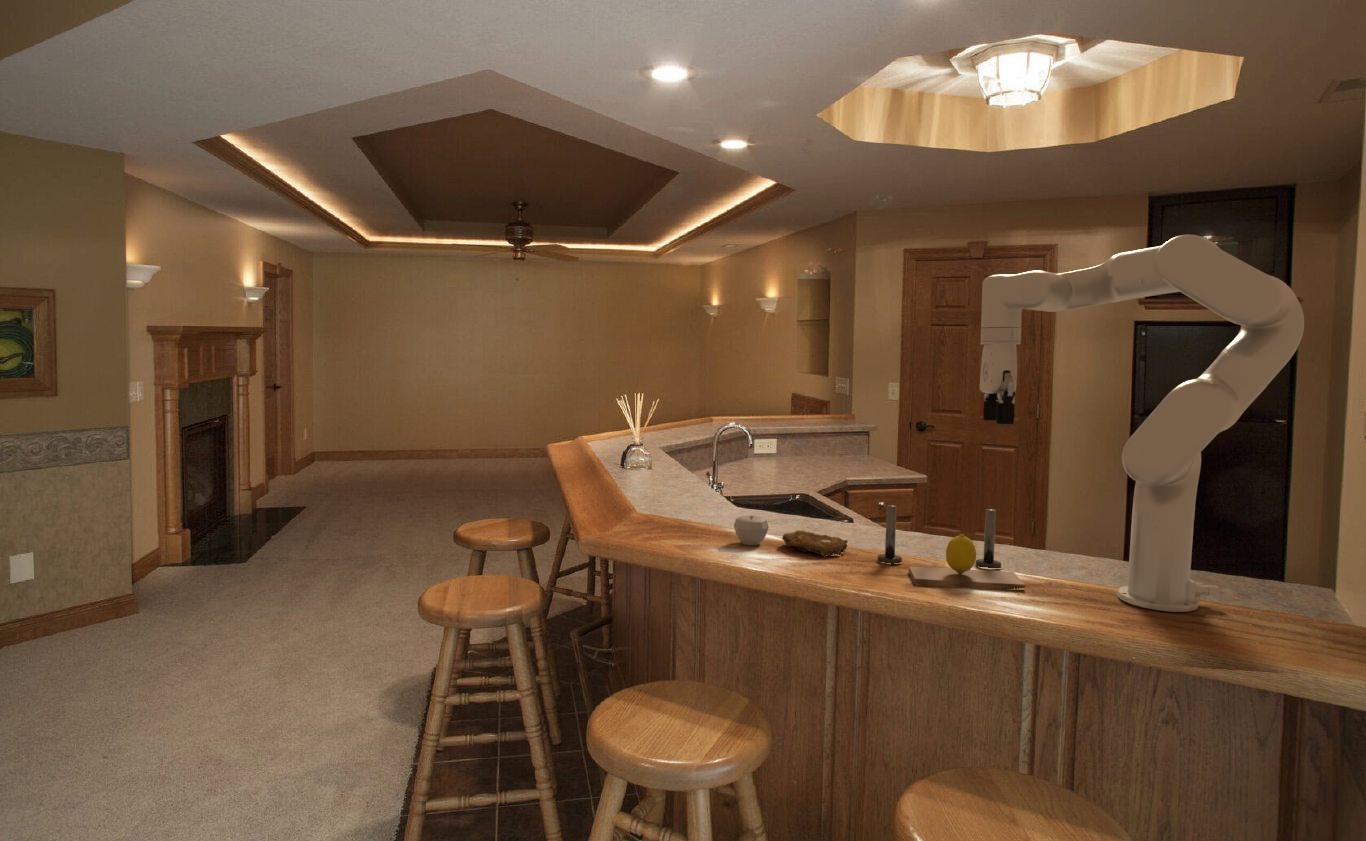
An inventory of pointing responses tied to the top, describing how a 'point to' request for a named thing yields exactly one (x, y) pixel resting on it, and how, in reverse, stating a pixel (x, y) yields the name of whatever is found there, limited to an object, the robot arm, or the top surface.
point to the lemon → (960, 554)
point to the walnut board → (965, 578)
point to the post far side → (890, 537)
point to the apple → (751, 529)
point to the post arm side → (989, 542)
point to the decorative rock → (815, 543)
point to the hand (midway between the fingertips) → (998, 421)
